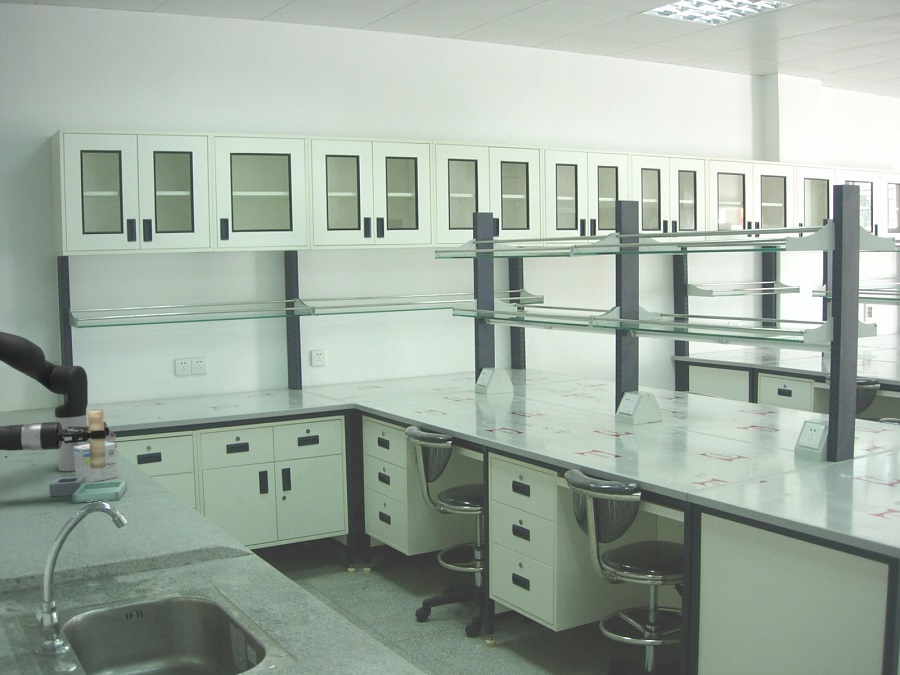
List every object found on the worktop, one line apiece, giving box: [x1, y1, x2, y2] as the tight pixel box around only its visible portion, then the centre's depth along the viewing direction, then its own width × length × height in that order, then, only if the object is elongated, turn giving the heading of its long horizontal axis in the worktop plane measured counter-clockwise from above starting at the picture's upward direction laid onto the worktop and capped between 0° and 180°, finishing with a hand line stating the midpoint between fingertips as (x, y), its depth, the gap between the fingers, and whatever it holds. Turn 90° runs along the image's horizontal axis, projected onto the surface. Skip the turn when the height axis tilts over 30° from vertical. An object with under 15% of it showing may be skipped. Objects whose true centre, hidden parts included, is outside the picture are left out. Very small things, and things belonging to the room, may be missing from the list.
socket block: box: [49, 476, 86, 498], centre depth 259 cm, size 8×8×4 cm
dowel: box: [87, 408, 106, 469], centre depth 253 cm, size 4×4×16 cm
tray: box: [71, 479, 128, 504], centre depth 254 cm, size 14×12×2 cm
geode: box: [87, 421, 118, 449], centre depth 323 cm, size 20×12×10 cm, turn 27°
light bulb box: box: [73, 441, 118, 483], centre depth 274 cm, size 11×7×11 cm, turn 134°
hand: (107, 432), depth 253 cm, fingers closed on dowel, 4 cm apart
